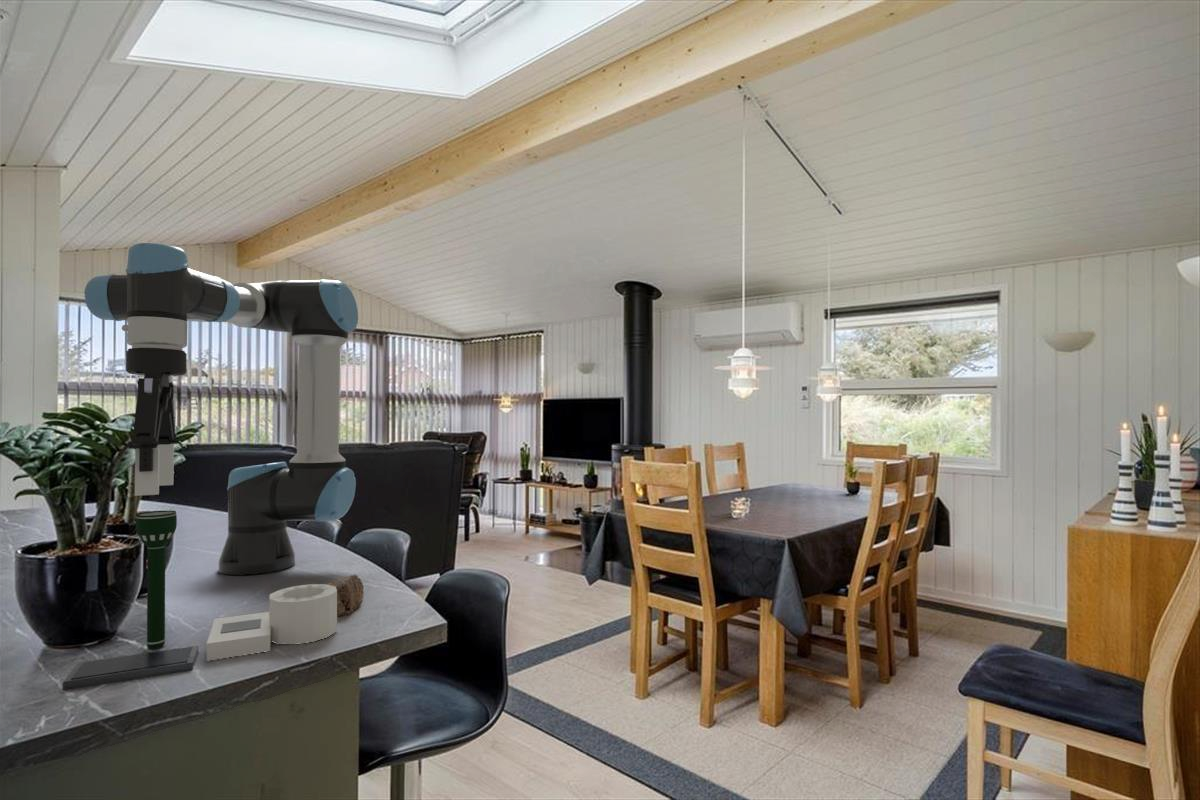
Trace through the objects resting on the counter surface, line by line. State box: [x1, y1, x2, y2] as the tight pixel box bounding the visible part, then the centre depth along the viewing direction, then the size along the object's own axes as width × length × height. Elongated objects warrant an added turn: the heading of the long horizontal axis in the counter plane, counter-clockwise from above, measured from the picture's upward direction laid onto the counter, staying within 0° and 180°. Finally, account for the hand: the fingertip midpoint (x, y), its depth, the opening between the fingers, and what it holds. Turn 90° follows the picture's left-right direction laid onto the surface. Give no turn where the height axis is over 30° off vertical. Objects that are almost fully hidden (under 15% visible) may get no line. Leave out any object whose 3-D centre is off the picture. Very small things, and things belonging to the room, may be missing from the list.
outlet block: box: [206, 583, 338, 662], centre depth 100 cm, size 12×17×6 cm
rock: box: [327, 574, 365, 617], centre depth 116 cm, size 15×10×6 cm
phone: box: [62, 644, 200, 691], centre depth 88 cm, size 7×14×1 cm, turn 116°
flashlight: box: [135, 509, 178, 650], centre depth 97 cm, size 5×5×20 cm
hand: (155, 490), depth 96 cm, fingers open, 13 cm apart
